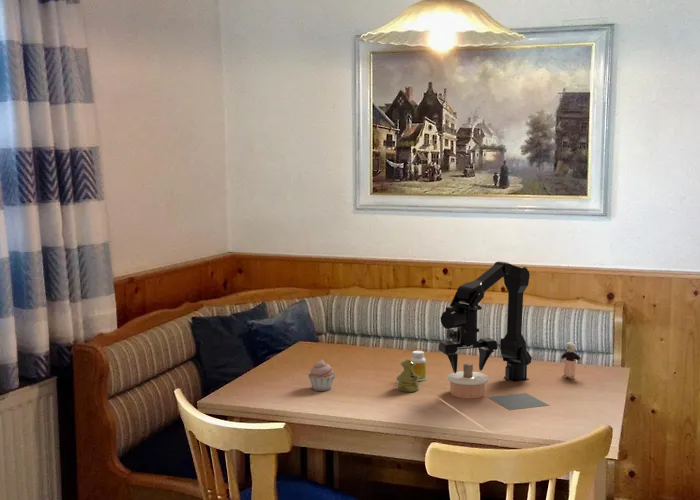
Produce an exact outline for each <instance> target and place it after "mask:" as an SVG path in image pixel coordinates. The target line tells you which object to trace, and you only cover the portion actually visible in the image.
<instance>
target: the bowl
mask: <svg viewBox="0 0 700 500" xmlns="http://www.w3.org/2000/svg"><path fill="white" fill-rule="evenodd" d="M449 383H450V384H449V385H450V386H449V392H450V394H451V395H452V396H453V397H456V398H461V399H462V398H463V399H479V398H482V397H484V396H485V395H486V394H485V392H486V383H484V384H480V385H460V384H455V383H452V382H450V381H449Z"/></svg>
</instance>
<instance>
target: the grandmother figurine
mask: <svg viewBox="0 0 700 500" xmlns="http://www.w3.org/2000/svg"><path fill="white" fill-rule="evenodd" d="M565 347H566V350H567V351H565V352H563V354H562V355H561V357H560V359H559V362H560V363H563V361H564V365H563V366H564V367H563V374H562V375H561V378H563V379H564V378H565V379H567V378H568V379H570V380H574V379H576V377H575V375H576V360H577V362H578V365H579V364H580V365H582V363H583V362H582V359H581V357H580V355H578V353H575V352H574V351H575V350H576V349H577V346H576V344H575V343H573V342H572V341H570V342H567V343H566V346H565Z"/></svg>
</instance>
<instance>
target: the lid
mask: <svg viewBox="0 0 700 500" xmlns="http://www.w3.org/2000/svg"><path fill="white" fill-rule="evenodd" d="M462 368H463V370H460V371H457V372H456V373H454V372H451V373H448V375H447V381H449V383H450V382H452V383H455V384H460V385H480V384H484V383H485V384H487V383H488V382H489V375H487V374H485V373H483V372H478V371H474V365H473V363H470V362H469V363H466V362H465V363H463V367H462Z"/></svg>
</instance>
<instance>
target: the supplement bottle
mask: <svg viewBox="0 0 700 500" xmlns="http://www.w3.org/2000/svg"><path fill="white" fill-rule="evenodd" d="M411 356H412V357H411V358H410V360H411V361H413V362H415V366H413V368H412V370H413V372H415V374H417V375H418V376H419V380H418V381H417V382H422V381H425V380H426V379H427V360H426V357H425V352H424V351H422V350H414V351H412V355H411Z"/></svg>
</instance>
